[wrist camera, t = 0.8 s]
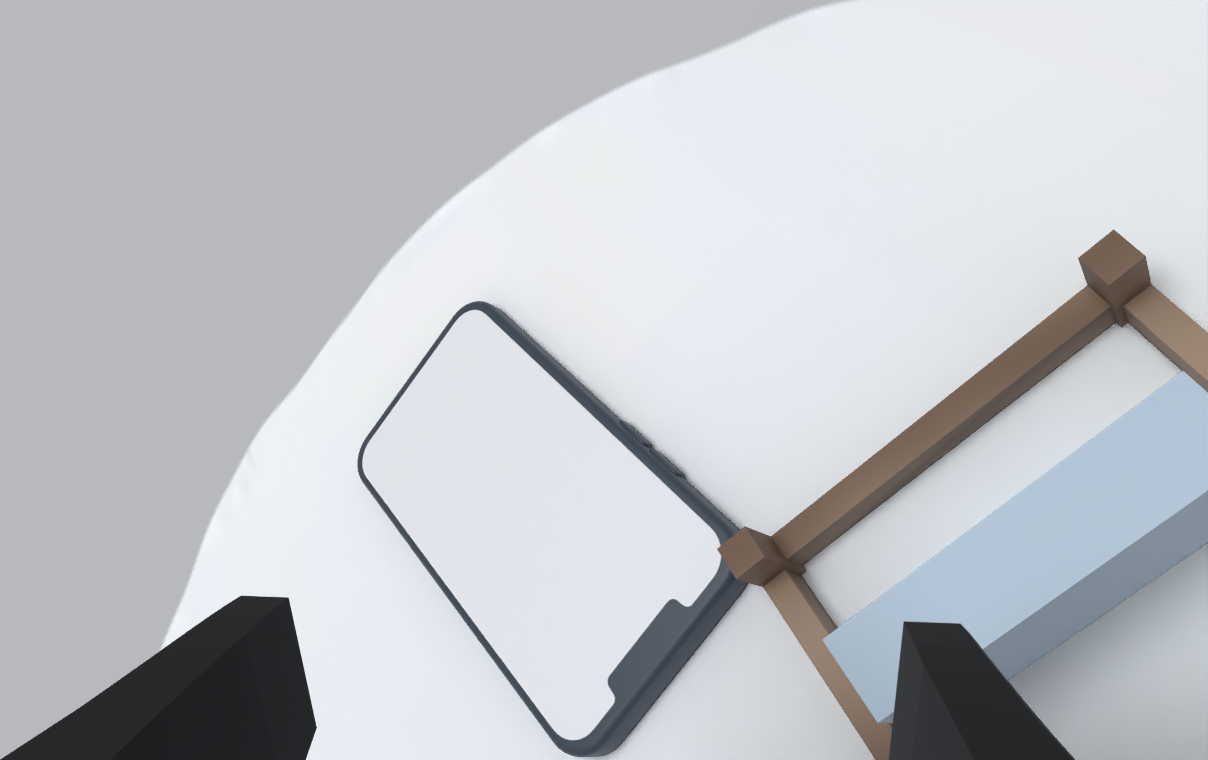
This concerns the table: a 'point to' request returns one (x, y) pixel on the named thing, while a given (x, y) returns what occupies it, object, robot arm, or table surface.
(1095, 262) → the frame
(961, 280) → the table surface
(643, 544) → the phone case
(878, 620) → the panel
